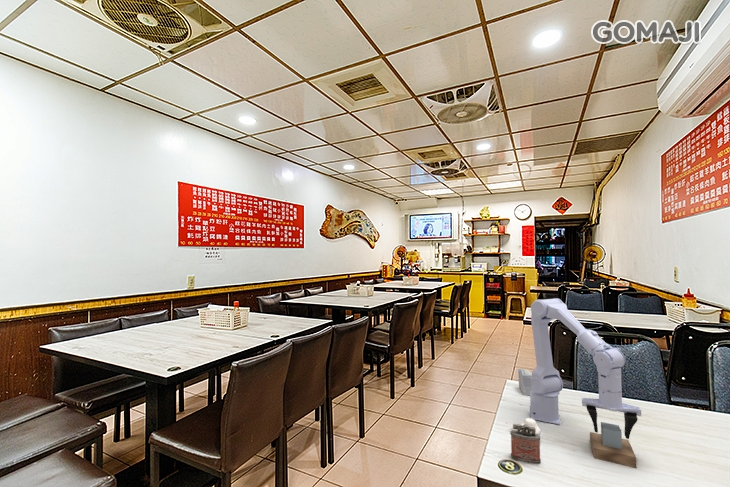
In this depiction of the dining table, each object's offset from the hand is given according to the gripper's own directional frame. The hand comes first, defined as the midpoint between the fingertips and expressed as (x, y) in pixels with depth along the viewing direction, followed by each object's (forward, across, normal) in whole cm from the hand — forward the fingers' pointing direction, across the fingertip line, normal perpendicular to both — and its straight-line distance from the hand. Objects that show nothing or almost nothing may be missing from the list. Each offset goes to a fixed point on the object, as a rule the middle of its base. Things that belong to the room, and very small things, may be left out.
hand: (611, 434), depth 102 cm
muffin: (+6, -22, -3) cm, 23 cm away
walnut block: (+6, 0, 0) cm, 6 cm away
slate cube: (+3, 0, 0) cm, 3 cm away
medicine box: (+6, -25, +38) cm, 46 cm away
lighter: (+6, -23, -15) cm, 28 cm away
